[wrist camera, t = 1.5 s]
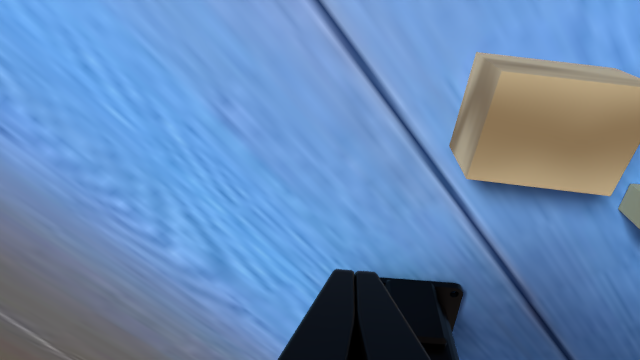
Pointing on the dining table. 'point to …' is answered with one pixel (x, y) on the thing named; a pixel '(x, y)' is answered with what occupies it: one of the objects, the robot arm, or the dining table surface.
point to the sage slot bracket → (632, 204)
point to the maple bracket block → (547, 124)
